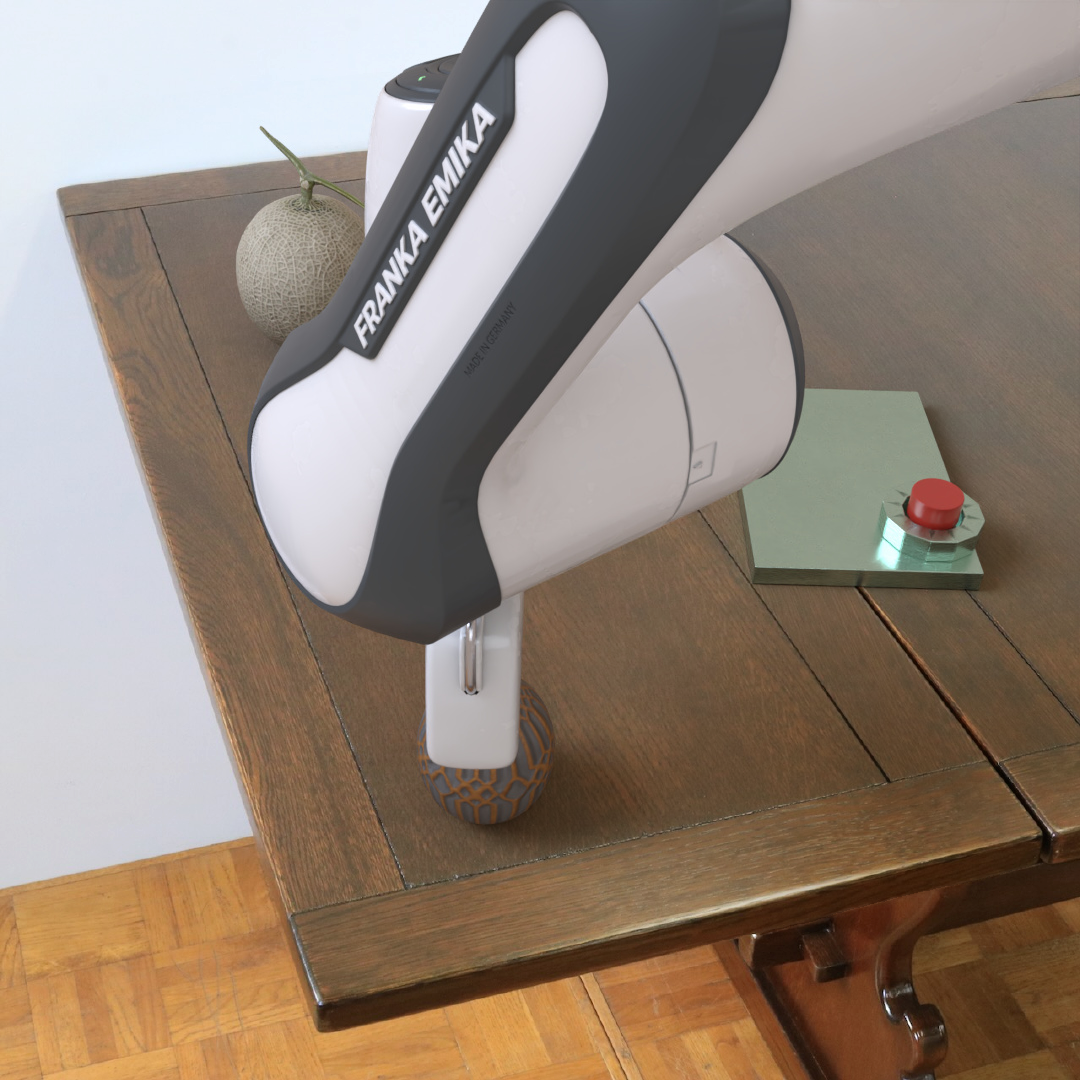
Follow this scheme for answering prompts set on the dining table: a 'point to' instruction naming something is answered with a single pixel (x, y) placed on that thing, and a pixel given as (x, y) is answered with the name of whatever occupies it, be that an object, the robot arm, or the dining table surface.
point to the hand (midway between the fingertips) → (483, 678)
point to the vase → (496, 771)
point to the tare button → (935, 504)
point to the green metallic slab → (857, 501)
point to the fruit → (296, 254)
